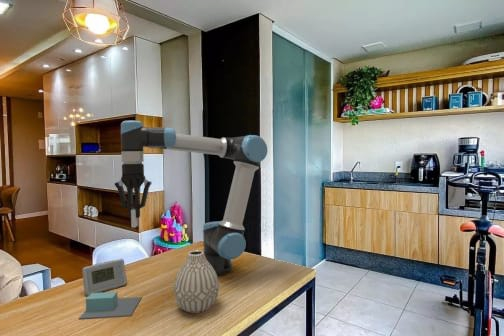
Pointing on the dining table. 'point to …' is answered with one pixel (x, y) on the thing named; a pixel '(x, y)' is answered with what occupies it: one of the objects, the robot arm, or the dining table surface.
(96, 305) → the block
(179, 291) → the vase
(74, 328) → the dining table surface
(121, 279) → the digital clock
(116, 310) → the mat
